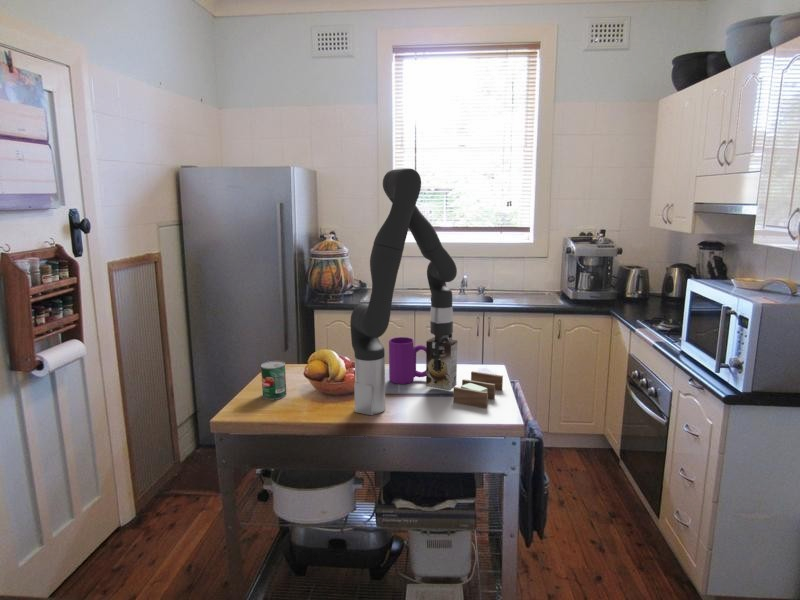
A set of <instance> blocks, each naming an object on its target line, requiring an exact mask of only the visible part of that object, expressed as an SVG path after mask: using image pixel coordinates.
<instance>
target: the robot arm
mask: <svg viewBox="0 0 800 600" xmlns="http://www.w3.org/2000/svg"><path fill="white" fill-rule="evenodd" d="M382 188H383V192H384V193H385V195H386V197H387V198H388V199H389V200H390V202H391V207H390V211H389V214H388V215H387V218H386V219H385V221H384V222H383V224H382V226H381V227H380V228H379V230H378V232H377V234H376V236H375V238H374V240H373V244H372V249H371V253H370V258H369V267H370V268H369V269H370V270H369V271H370V278H371V293H370V297H369V301H368V303H361V304H358V305H357V306H355V307H354V308H353V310H352V312H351V315H350V337H351V339H350V340H351V346H352V348H353V351H354V377H355V378H354V380H355V382H354V384H353V386H354V387H353V388H354V389H353V390H354V391H353V392H354V412H355V413H358V414H363V415H367V416H373V415H376V414H380V413H382V412H385V410H386V376H385V375H386V369H385V368H386V367H385V366H386V365H385V364H386V363H385V361H386V360H385V358H386V356H385V354H386V353H385V352H386V351H385V347H384V345H383V344H382V343H381V341H380V339H379V338H380V337H382V336H383V335H384V334H385V333H386V331H387V329H388V327H389V324H390V318H391V313H392V312H391V311H392V304H393V298H394V291H395V288H396V287H395V286H396V282H397V278H398V274H399V269H400V265H401V261H402V259H403V258H402V257H403V253H404V250H405V244H406V239H407V235H408V231H410V232H411V235H412V237H413V239H414V241H415V242H416V244H417V247H418V249H419V251H420V252H421V255H422V256H423V257H424V258H425V259H427V260H428V261H429V263H428V265H427V268H426V276H427V277H426V278H427V282H428V285H429V286H428V288H429V291H430V295H431V296H430V314H429V315H430V320H429V322H430V323H429V324H430V325H429V329H430V331H429V332H430V334H431V335H434V337H435V339H434V342H430V353H431V359H434V370H436V371H440V370H441V354H442V353H443V350H442V349H441V350H439V347H440V346H441V343H442V342H444V343H445V342H446V341H449V339H451V340H453V332H454V310H453V291H452V290H451V289H450V288H449V287H448V285H447V283H451V282H452V281H454V280H455V279H456V277H457V274H458V270H457V269H458V268H457V265H456V262H455V261H454V260H453V258H452V257H451V255H450V253H448V251H447V250H446V249H445V248H444V246H443V244H442V243H441V239H440V238H439V235H438V234H437V231H436V229H435V228H434V226H433V225H432V224H431V222H430V221H429V220H428V219H427V218H426V216H425V215H424V214H423V213H422V212H421V211H420V209H419V208H418V206H417V205H416V204H417V202H418V199H419V196H420V194H421V190H422V189H421V188H422V180H421V175H420V173H419V172H418V171H417V170H416V169H414V168H410V167H405V168H396V169H395V168H394V169H391V170H389V171H387V172H386V173H385V175H384V176H383V179H382ZM438 345H439V346H438ZM433 353H434V354H433Z"/></svg>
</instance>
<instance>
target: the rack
mask: <svg viewBox="0 0 800 600" xmlns="http://www.w3.org/2000/svg"><path fill="white" fill-rule="evenodd" d="M503 380H504V375H501V374H494V373H493V374H492V373H487V372H480V371H473V370H472V371H471V372H470V379H466V378H465V379H464V378H463V379H462V382H461V386H463V385H465V384H468V383H473V384H476V385H479V386H482V387H485V388H487V392H483V391H477V390H471V389H465V388H461V387H459V386H455V387H454V388H453V396H452V397H453V404H459V405H466V406H471V407H477V408H481V409H482V408H483V409H487V408H488V400H495V399H496V391H501V390H502V391H503V384H504V383H503V382H504V381H503ZM495 389H496V390H495Z"/></svg>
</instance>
